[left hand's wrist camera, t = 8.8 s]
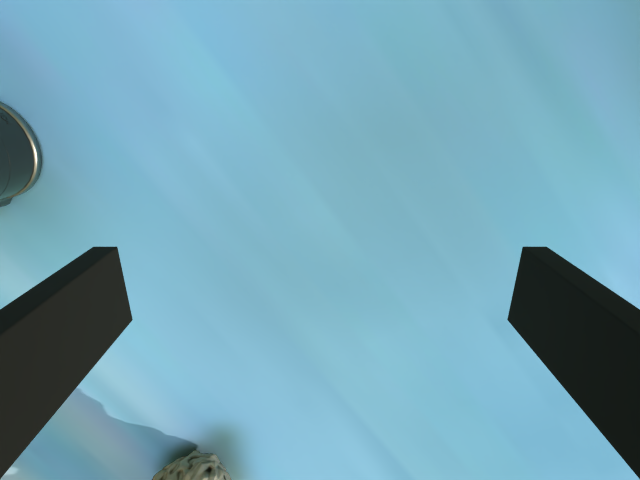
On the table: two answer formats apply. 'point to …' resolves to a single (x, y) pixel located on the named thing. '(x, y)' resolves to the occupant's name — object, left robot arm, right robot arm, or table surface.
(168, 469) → the teapot
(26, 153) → the right robot arm
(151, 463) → the table surface
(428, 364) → the table surface
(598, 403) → the left robot arm
